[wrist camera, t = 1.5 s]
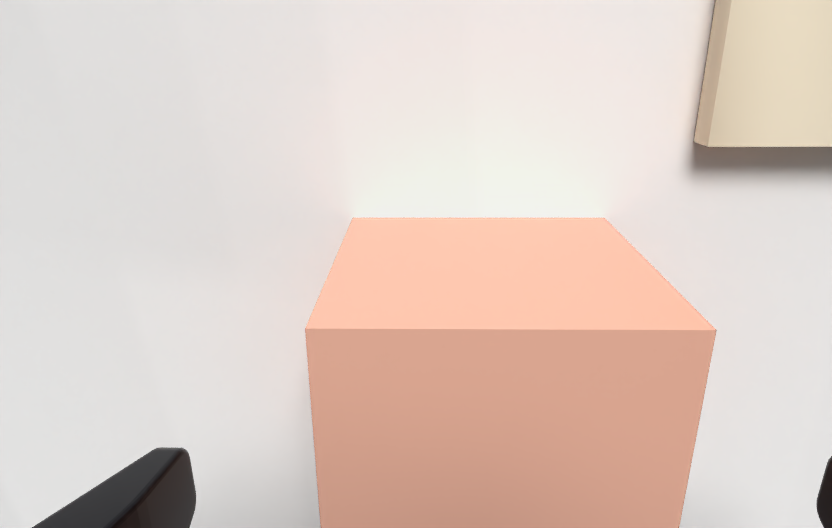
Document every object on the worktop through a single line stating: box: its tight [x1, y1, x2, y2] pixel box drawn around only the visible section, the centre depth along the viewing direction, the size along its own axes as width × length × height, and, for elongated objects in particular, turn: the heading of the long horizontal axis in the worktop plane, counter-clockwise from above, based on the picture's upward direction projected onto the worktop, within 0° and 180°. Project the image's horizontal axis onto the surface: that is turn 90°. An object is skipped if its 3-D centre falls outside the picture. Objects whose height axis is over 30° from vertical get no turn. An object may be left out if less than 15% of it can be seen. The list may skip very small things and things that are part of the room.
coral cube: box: [305, 218, 716, 528], centre depth 10 cm, size 5×5×5 cm
